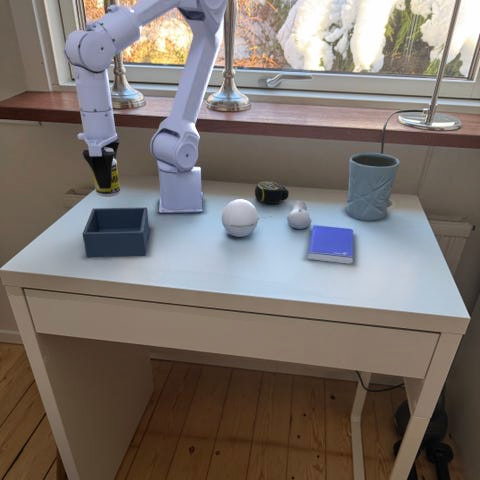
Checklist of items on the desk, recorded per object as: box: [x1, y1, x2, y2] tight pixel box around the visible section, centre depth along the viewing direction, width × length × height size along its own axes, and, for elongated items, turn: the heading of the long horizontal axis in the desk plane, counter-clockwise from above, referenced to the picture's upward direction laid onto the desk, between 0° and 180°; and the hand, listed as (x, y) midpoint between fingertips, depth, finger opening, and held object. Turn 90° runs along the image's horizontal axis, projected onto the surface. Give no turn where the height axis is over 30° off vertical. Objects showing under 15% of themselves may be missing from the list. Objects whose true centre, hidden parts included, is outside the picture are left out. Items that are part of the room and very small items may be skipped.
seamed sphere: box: [221, 198, 273, 238], centre depth 92 cm, size 10×7×7 cm
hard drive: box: [307, 224, 354, 264], centre depth 90 cm, size 2×8×12 cm
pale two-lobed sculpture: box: [286, 199, 312, 230], centre depth 98 cm, size 4×8×5 cm
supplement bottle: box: [92, 147, 121, 198], centre depth 90 cm, size 5×5×8 cm
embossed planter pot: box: [346, 152, 401, 222], centre depth 101 cm, size 10×10×12 cm
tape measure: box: [254, 180, 289, 204], centre depth 109 cm, size 7×7×4 cm
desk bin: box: [82, 206, 150, 258], centre depth 89 cm, size 11×12×5 cm
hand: (107, 183), depth 92 cm, fingers closed on supplement bottle, 5 cm apart
